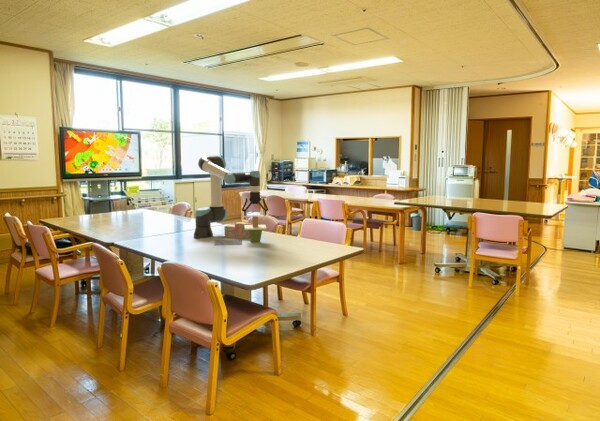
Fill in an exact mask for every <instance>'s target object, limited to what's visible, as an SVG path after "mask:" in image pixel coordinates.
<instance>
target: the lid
mask: <svg viewBox="0 0 600 421" xmlns="http://www.w3.org/2000/svg"><path fill="white" fill-rule="evenodd" d="M251 218H252V222H251V223H252V225H244V227H245V230H262V231H263V230H267V229H268V228H267V226H266V224H259V215H255V214H253V215H252V217H251Z"/></svg>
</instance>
